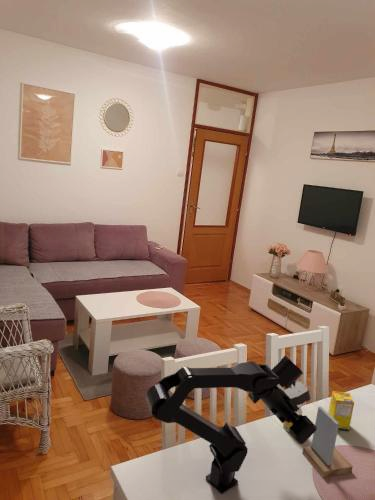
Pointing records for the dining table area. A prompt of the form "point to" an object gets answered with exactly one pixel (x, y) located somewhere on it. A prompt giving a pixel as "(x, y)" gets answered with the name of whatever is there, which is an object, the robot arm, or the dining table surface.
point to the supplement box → (341, 409)
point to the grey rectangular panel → (324, 436)
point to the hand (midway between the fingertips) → (302, 429)
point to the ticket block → (337, 464)
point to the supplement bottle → (288, 425)
